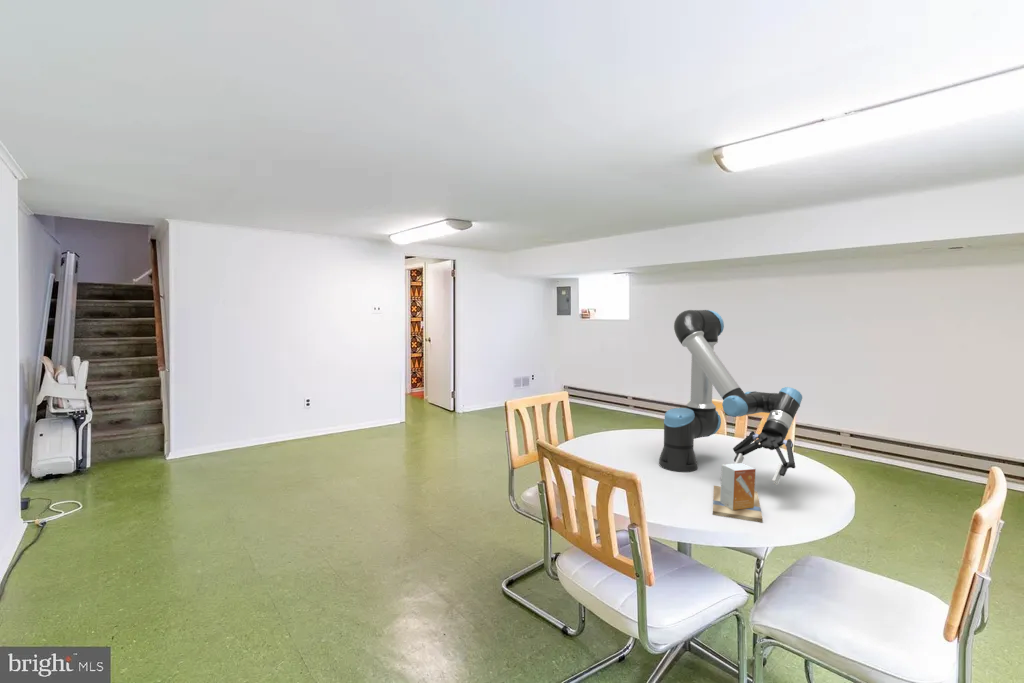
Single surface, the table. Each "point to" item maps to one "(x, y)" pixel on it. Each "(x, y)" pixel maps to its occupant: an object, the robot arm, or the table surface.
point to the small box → (737, 486)
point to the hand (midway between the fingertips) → (753, 476)
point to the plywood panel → (744, 514)
